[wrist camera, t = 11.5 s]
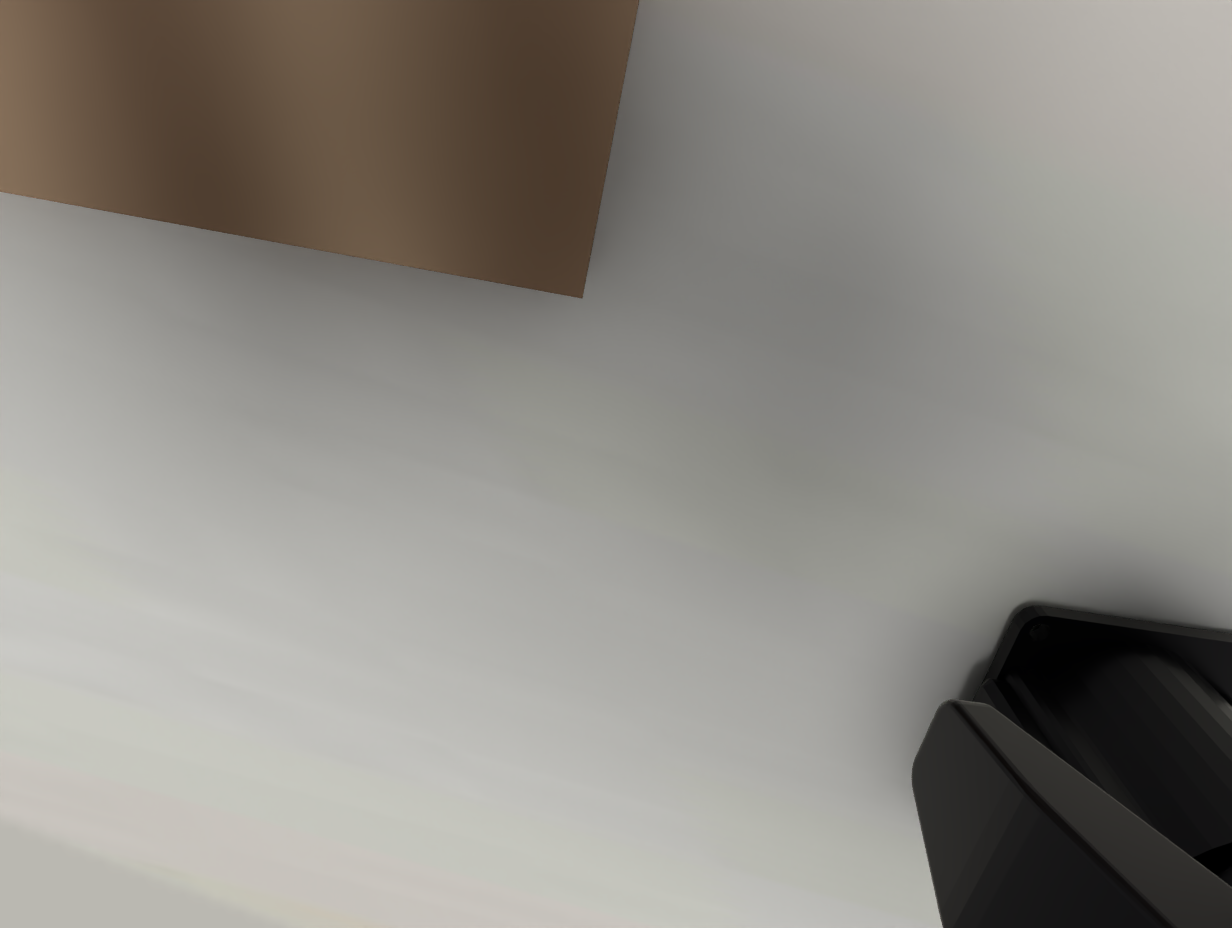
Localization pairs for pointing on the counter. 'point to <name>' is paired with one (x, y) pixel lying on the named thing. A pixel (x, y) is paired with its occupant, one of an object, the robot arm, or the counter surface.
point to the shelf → (328, 123)
